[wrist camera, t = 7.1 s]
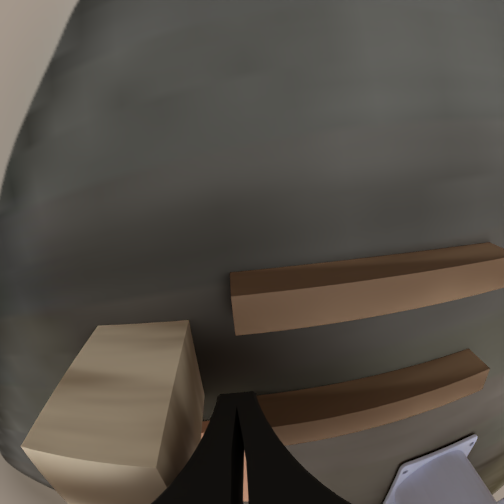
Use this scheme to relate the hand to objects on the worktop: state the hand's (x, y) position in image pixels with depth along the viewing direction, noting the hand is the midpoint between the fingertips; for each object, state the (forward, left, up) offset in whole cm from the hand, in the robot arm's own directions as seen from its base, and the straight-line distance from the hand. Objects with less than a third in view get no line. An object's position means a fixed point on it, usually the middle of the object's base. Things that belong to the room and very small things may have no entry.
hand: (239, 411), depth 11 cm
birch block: (0, +4, -4) cm, 6 cm away
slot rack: (0, -7, -4) cm, 8 cm away
